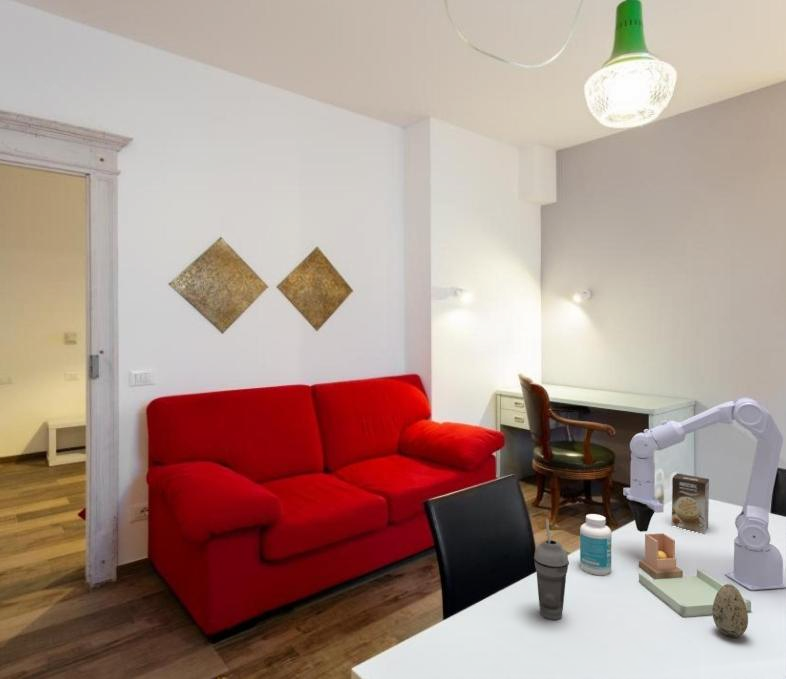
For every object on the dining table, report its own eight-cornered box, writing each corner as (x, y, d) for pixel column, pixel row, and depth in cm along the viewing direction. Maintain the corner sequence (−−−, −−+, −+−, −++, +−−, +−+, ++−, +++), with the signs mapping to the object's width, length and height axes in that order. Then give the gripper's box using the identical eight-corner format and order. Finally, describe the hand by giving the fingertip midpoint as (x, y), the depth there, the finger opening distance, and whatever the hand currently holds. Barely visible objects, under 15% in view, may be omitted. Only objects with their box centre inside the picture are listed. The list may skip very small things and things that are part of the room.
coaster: (664, 566, 133) (664, 558, 133) (682, 579, 126) (682, 571, 126) (638, 567, 132) (638, 560, 132) (656, 581, 125) (656, 572, 125)
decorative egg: (740, 647, 99) (741, 595, 99) (707, 632, 103) (707, 583, 103) (752, 636, 102) (753, 586, 102) (719, 623, 107) (720, 575, 107)
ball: (662, 560, 131) (661, 548, 131) (669, 565, 128) (669, 553, 128) (651, 560, 130) (650, 549, 130) (658, 566, 127) (658, 553, 127)
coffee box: (670, 529, 158) (670, 477, 158) (675, 523, 163) (675, 472, 162) (704, 537, 152) (705, 482, 152) (709, 530, 157) (709, 478, 156)
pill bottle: (614, 578, 127) (614, 523, 126) (582, 575, 128) (582, 521, 128) (607, 564, 134) (608, 512, 134) (578, 562, 135) (578, 511, 135)
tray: (699, 578, 127) (699, 569, 127) (751, 611, 111) (751, 601, 111) (638, 582, 125) (638, 573, 124) (682, 617, 109) (682, 607, 109)
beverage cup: (550, 626, 106) (551, 529, 106) (526, 609, 112) (526, 518, 112) (576, 617, 109) (576, 523, 109) (551, 601, 116) (551, 512, 115)
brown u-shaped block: (663, 560, 132) (663, 533, 132) (676, 569, 127) (676, 541, 127) (644, 561, 131) (645, 534, 131) (657, 570, 126) (657, 542, 126)
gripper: (613, 472, 143) (612, 521, 143) (645, 488, 128) (644, 542, 129) (636, 471, 144) (636, 520, 144) (671, 487, 129) (671, 540, 130)
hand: (642, 530), depth 136 cm, fingers closed
